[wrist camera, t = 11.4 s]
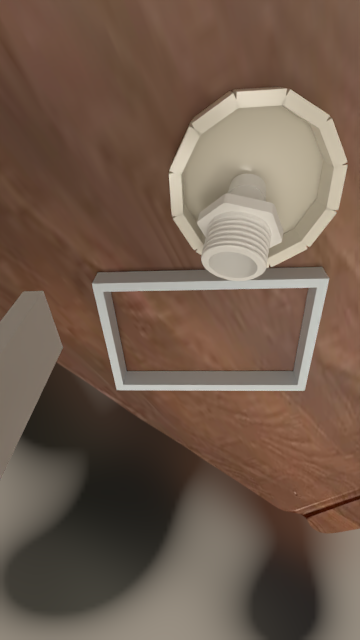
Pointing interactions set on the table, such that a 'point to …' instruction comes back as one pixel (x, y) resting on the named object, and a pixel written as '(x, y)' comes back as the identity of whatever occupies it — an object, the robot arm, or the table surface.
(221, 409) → the table surface
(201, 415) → the table surface
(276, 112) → the bowl
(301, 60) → the table surface
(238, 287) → the open rectangular frame
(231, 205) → the pipe fitting
